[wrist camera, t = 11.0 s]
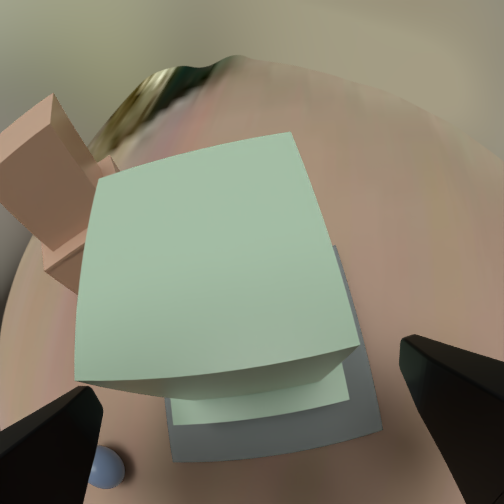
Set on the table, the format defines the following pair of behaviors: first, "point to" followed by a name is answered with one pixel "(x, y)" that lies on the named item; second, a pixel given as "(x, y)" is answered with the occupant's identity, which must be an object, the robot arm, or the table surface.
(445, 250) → the table surface
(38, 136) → the pink stepped block
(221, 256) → the stepped green tower
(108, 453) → the blue ball
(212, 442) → the mat
